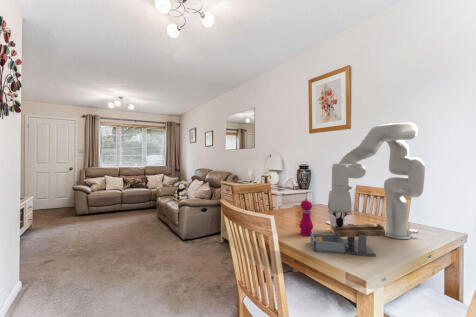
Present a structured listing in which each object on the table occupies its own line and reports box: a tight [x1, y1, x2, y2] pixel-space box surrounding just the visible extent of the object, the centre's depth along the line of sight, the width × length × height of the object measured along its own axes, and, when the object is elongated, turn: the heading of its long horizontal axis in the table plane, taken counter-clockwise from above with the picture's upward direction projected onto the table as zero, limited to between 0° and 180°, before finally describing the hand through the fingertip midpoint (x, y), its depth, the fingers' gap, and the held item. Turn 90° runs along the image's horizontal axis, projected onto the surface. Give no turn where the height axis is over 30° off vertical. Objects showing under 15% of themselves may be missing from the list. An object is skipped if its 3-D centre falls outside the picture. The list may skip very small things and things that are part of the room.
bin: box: [310, 232, 346, 255], centre depth 105 cm, size 13×12×4 cm
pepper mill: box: [298, 197, 314, 237], centre depth 125 cm, size 7×7×20 cm
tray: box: [332, 223, 386, 238], centre depth 106 cm, size 19×15×4 cm
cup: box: [328, 212, 347, 234], centre depth 129 cm, size 9×9×12 cm
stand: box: [341, 223, 377, 258], centre depth 106 cm, size 10×18×9 cm, turn 169°
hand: (339, 226), depth 111 cm, fingers closed
